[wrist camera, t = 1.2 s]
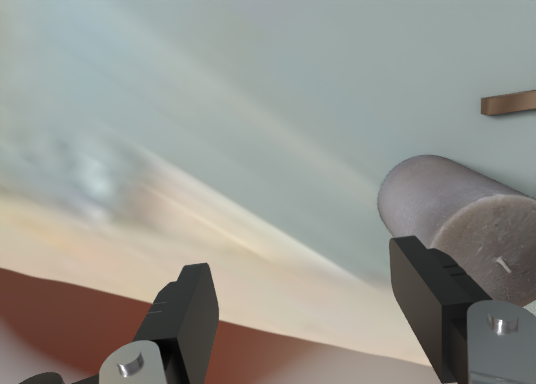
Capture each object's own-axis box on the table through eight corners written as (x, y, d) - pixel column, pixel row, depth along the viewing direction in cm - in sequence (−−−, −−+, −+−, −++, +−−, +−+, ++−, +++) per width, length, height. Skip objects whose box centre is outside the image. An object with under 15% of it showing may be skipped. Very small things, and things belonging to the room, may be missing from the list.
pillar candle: (477, 218, 38) (598, 301, 24) (391, 251, 39) (457, 347, 25) (452, 138, 36) (571, 175, 21) (362, 176, 37) (416, 235, 23)
